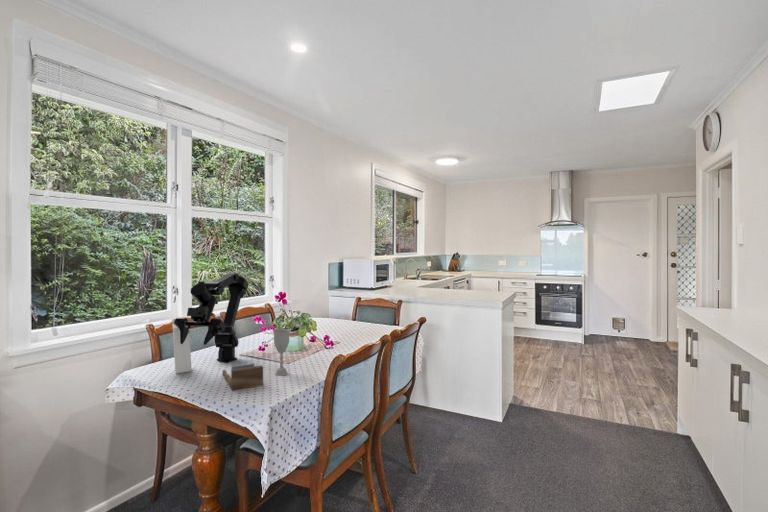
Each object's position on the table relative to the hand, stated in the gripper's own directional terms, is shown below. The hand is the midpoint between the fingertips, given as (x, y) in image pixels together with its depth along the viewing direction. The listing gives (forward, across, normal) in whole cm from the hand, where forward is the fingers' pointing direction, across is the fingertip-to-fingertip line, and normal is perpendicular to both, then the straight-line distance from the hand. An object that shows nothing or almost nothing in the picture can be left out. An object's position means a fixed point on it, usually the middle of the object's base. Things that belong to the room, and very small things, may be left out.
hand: (192, 344), depth 153 cm
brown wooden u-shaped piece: (+9, +17, +12) cm, 23 cm away
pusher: (+10, +19, +10) cm, 24 cm away
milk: (+4, -11, +18) cm, 21 cm away
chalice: (+4, +31, +19) cm, 36 cm away
